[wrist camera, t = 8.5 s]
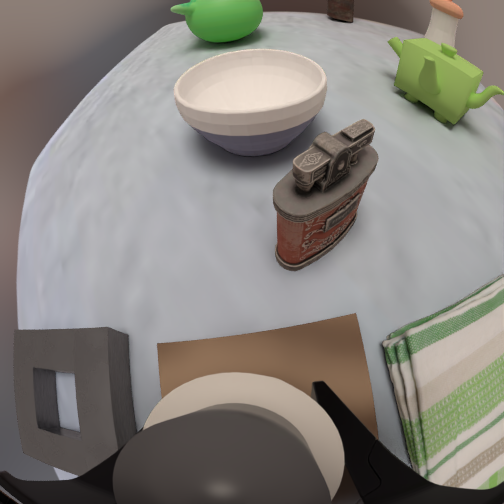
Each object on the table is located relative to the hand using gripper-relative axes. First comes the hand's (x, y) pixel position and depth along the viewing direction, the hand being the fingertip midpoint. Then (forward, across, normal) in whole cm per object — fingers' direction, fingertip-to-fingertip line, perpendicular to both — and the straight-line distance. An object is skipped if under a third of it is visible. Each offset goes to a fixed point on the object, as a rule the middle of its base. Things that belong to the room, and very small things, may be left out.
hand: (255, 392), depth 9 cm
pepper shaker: (+41, -38, -28) cm, 63 cm away
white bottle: (+4, 0, +6) cm, 7 cm away
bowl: (+24, 0, -11) cm, 26 cm away
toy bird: (+50, +5, -37) cm, 62 cm away
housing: (+4, +16, +8) cm, 19 cm away
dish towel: (+2, -19, +12) cm, 22 cm away
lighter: (+14, -5, -2) cm, 15 cm away
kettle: (+30, -28, -17) cm, 44 cm away
